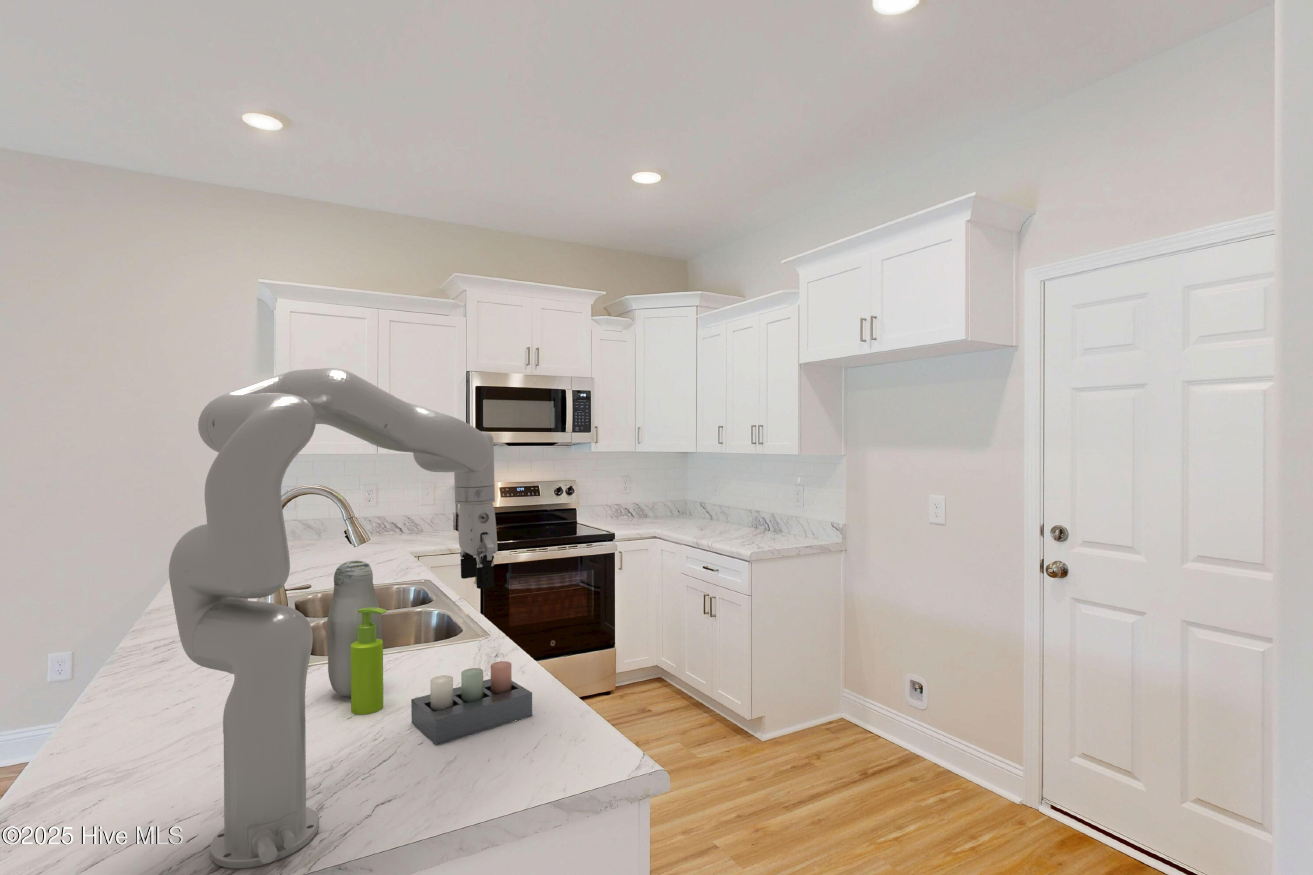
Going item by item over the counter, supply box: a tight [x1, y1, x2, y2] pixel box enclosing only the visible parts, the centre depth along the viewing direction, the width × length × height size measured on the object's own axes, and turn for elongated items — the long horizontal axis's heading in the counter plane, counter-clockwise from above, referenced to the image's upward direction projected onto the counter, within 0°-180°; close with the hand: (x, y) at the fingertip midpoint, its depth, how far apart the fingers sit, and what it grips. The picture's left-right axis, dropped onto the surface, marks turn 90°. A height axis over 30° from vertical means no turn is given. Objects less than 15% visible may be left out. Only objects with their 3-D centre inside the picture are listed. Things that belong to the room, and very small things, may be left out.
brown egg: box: [490, 660, 513, 694], centre depth 131 cm, size 4×4×5 cm
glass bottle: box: [326, 560, 383, 698], centre depth 140 cm, size 10×10×28 cm
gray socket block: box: [410, 678, 533, 746], centre depth 127 cm, size 12×19×4 cm, turn 130°
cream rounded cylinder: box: [429, 674, 454, 711], centre depth 124 cm, size 4×4×5 cm
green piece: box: [460, 667, 484, 702], centre depth 127 cm, size 4×4×5 cm
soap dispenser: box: [350, 607, 388, 716], centre depth 133 cm, size 6×7×20 cm
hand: (477, 582), depth 130 cm, fingers open, 9 cm apart
